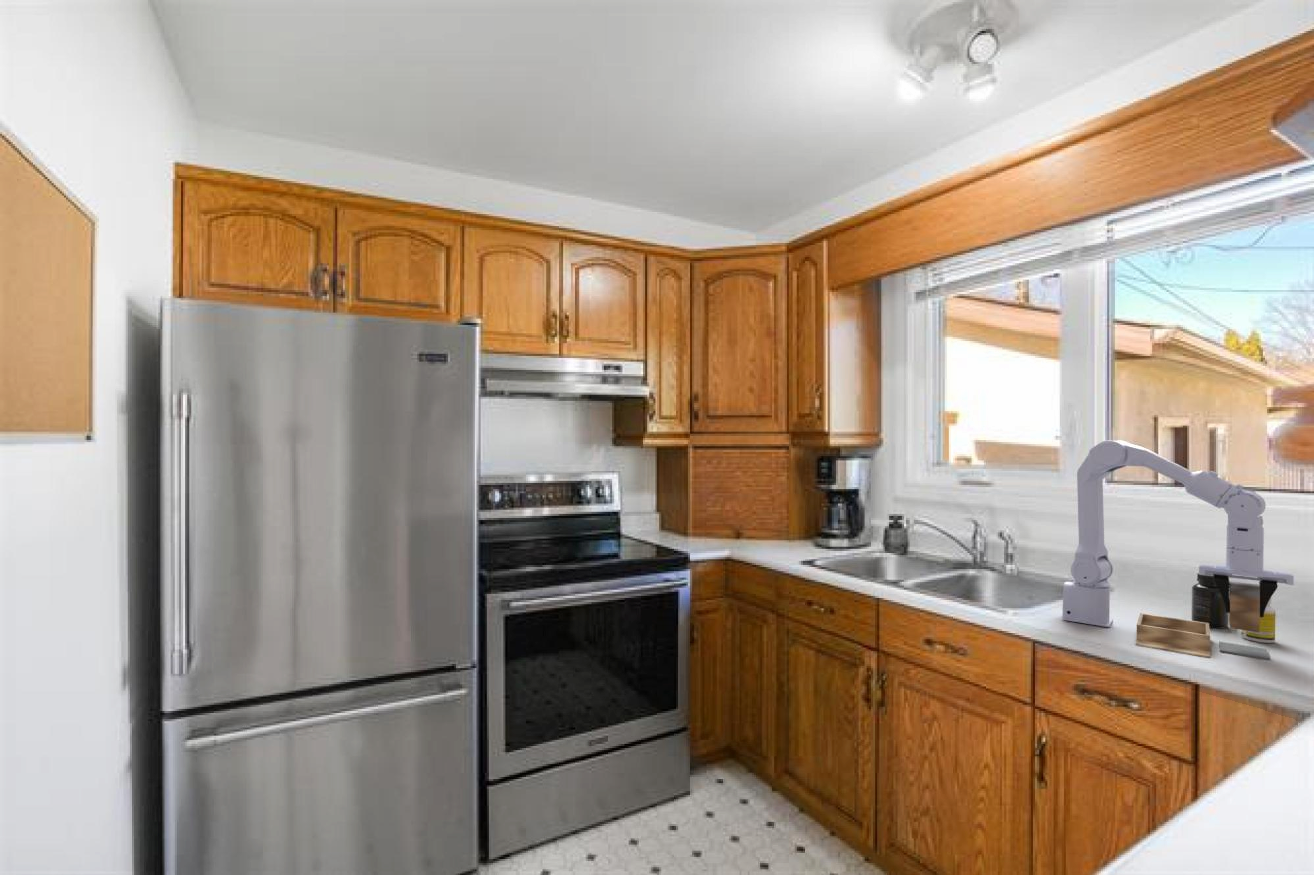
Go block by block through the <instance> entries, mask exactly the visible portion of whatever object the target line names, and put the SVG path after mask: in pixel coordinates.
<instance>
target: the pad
mask: <svg viewBox="0 0 1314 875" xmlns="http://www.w3.org/2000/svg"><path fill="white" fill-rule="evenodd" d="M1218 646H1219V652H1220V653H1223V654H1224V653H1225V654H1230V655H1231V654H1232V655H1238V656H1243V657H1249V658H1254V659H1260V660H1267V661H1271V660H1270V659H1271V658H1270V656H1269V655H1270V654H1269V652H1268V649H1267V648H1263V647H1257V646H1251V645H1245V644H1244V645H1243V644H1238V643H1231V642H1226V641H1218Z"/></svg>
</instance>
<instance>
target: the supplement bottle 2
mask: <svg viewBox="0 0 1314 875" xmlns="http://www.w3.org/2000/svg"><path fill="white" fill-rule="evenodd" d="M1271 604H1272V597H1271V598H1270V600H1269V602H1268V604H1267V606H1266V609H1265V612H1264V617H1260V632H1253V631H1246V630H1241V637H1242V638H1243V639H1245V640H1247V641H1248V640H1249V641H1252V642H1255V643H1263V644H1266V643H1267V644H1272V643H1275V642H1276V641H1275V640H1276V609H1275V608H1274V607H1272V605H1271Z"/></svg>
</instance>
